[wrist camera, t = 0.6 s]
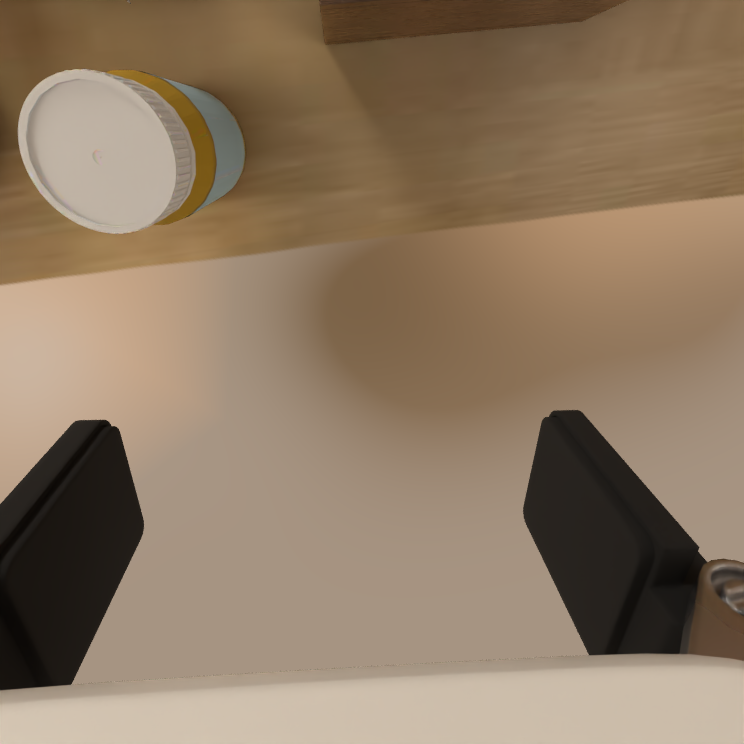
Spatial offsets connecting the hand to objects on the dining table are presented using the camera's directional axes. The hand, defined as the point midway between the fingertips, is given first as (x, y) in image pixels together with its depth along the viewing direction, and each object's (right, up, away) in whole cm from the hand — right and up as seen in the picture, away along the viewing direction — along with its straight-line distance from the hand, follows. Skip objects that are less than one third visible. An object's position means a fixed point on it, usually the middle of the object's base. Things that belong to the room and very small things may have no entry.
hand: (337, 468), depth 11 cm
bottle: (-11, +18, +22) cm, 31 cm away
